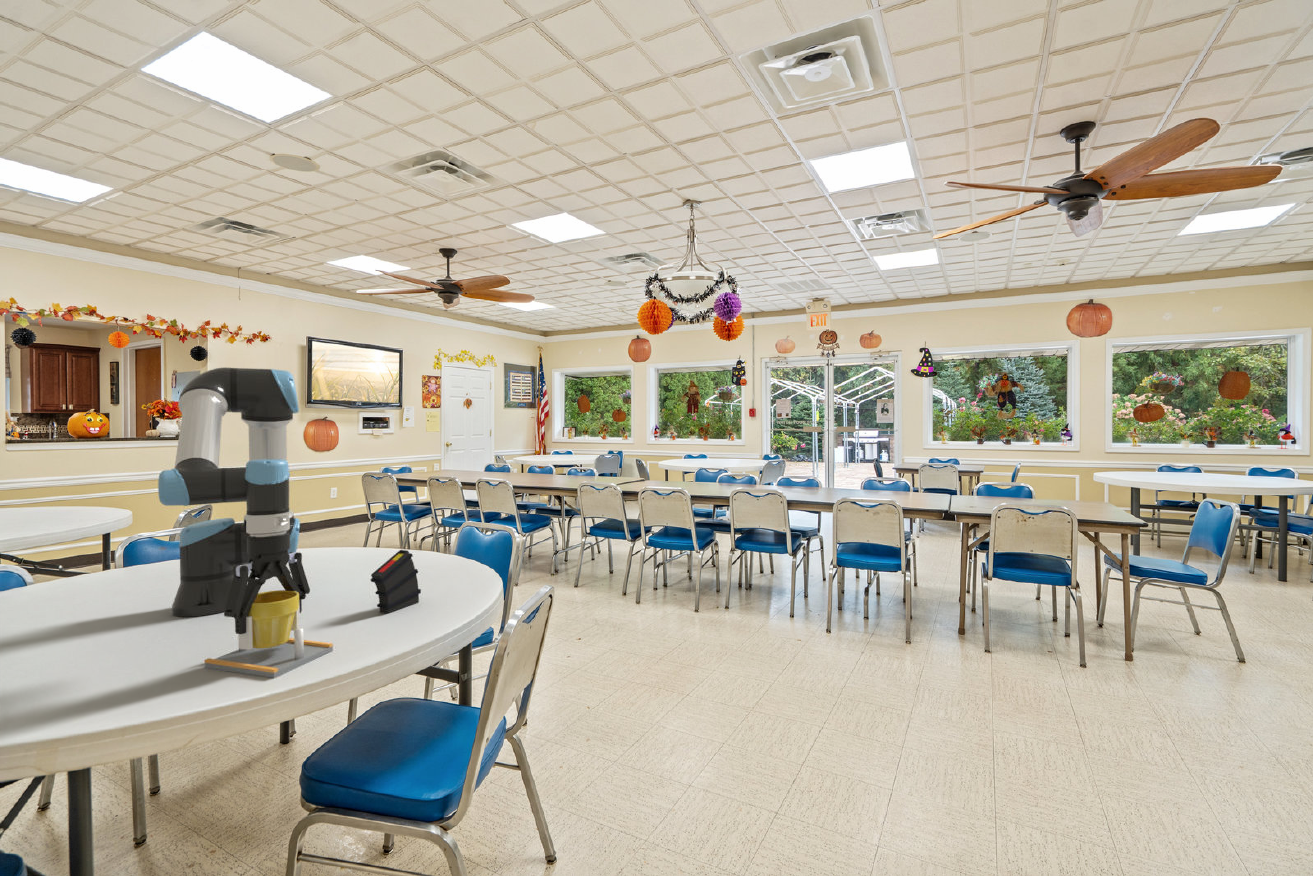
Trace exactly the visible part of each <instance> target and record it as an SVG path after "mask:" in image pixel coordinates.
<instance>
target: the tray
mask: <svg viewBox="0 0 1313 876" xmlns="http://www.w3.org/2000/svg"><path fill="white" fill-rule="evenodd" d="M293 635H294V636H293V637H294V638H292V637H289V640H288V641H287V642H286V643H284V644H282V645H279V646H275V647H270V648H252V649H250V650H247V649H239V648H238V649H236V650H234V651H231V652H229V653H225V654H224V655H220V656H218V657H216V658H205V659H204V661H203V662H204V669H210V670H211V669H212V670H219V671H224V672H231V673H238V674H245V675H250V676H251V675H252V676H260V677H264V678H271V679H275V678H277V677H280V676H281V675H284V674H286V673H288V672H290V671H292V670H294V669H297V668H299V667H301V666H303V665H305V664H307V663H310V662H312V661H314V660H317V659H318V658H321V657H323V656H325V655H327V654H329V653H331V652H332V651H334V645H333V644H334V643H332V642H323V641H316V640H307V639H304V638H305V637H304V628H303V627H300V628H297V629H294V631H293Z"/></svg>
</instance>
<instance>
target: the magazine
mask: <svg viewBox="0 0 1313 876" xmlns="http://www.w3.org/2000/svg"><path fill="white" fill-rule="evenodd" d="M413 557H414V556H413V553H412V552H411V553H410V552H409V550H407V549H406V550H405V549H399V551H397V552H396V553H395V554H394V555H393V556H392V555H391V557H390V558H389V559H387V561H385V562H384V563H383V564H382V565H381V566H379V567H378V568H377V569H376V570H375V571H374V572H372V573H371V574H370V575H371V578H370V582H371V583H374V584H375V587H376V591H375V595H378V601H379V602H378V603H377V604H376V607H377V608H379V613H383V614H390V613H393V612H396V611H398V610H402V609H404V608H406V607H409V606H412V605H415V604H419V602H420V598H419V597H420V596H419V595H420V594H421V593H422V589H421V588H419V582H418V577H417V574H418V573H419V571H418V568H416V567H415V564H414V561H413V559H412V558H413Z"/></svg>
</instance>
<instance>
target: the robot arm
mask: <svg viewBox="0 0 1313 876" xmlns="http://www.w3.org/2000/svg"><path fill="white" fill-rule="evenodd" d="M178 410H179V411H180V413H181V422H180V427H179V428H180V429H179V434H178V441H177V447H176V448H177V449H176V455H175V462H174V468H172V469H166V470H165V469H164V470H162V471H161V472H160V473H159V476H158V482H157V488H158V491H157V493H158V499H159V502H160V504H161V505H163V506H170V507H171V506H174V507H175V506H183V507H188V506H196V505H198V506H199V505H212V504H222V503H223V504H224V503H227V504H228V503H242V502H243V503H244V502H246V514H245V515H243V522H236V521H235V520H234V518H232V517H224V518H217V519H210V520H209V519H208V520H205V521H201V522H197V523H194V524H190V525H187V526H185V527H184V528H182V529H181V530H180V533H179V544H178V548H179V574H180V575H179V578H180V580H179V581H180V584H179V586H178V588H177V591H176V594H175V597H174V601H173V602H172V605H171V606H172V607H171V609H172V610H171V611H172V612H171V613H172V615H173V616H174V617H175V616H176V617H185V618H186V617H199V616H200V617H201V616H208V615H214V614H218V613H223V612H224V613H223V615H224V617H226V618H233V619H234V628H235V629H234V630H235V631H234V632H235V634H236V635H238V637H237V638H238V650H239V649H247V650H250V649H252V648H253V640H252V616H248V614H249V612H250V610H251V607H252V604H253V603H254V601H255V599H256V597H257V594H258V593H260V591H261V588H262V586H263V585H264V584H266V581H267V580H270V579H272V578H276V579H277V580H278V581H279V583H280V585H281V586H282V587H283V590H286V591H296V592H298V593H299V608H298V610H297V611H296V612H295V615H294V619H293V623H292V627H291V631H293V632H294V629H297V628H301V624H300V623H301V621H300V620H301V618H300V616H301V615H300V614H301V613H302V611H303V610H302V605H303V603H302V600H305V599H306V598H307V595H308V594H310V591H311V588H310V586H309V583H308V579H307V578H308V577H307V576H306V573H305V569H304V565H303V553H302V552H297V550H298V549H297V548H298V544H299V537H300V528H301V527H300V526H301V523H300V518H297V517H294V516H295V515H294V514H295V513H294V512H293V510H291V509H290V476H291V475H290V468H289V462H288V461H287V460H288V458H287V457H288V454H287V453H288V448H287V447H288V445H287V444H288V442H287V440H288V439H287V438H288V437H287V426H288V424H291V422H292V421H293V420H294V415H293V414H298V413H300V409H299V401H298V395H297V388H296V383H295V378H294V376H293V374H292V373H291V372H290V371H288V370H282V369H275V368H244V367H243V368H242V367H241V368H238V367H218V368H213V369H210V370H207V371H205V372H203V373H200V374H198V375H197V376H195V377H194V378H193V379H191V380H190V381H189V382H188V383H187V384H185V387H183V389H182V391H181V393H180V394H179V398H178ZM226 413H240V416H241V417H240V418H241V420H242V422H244V423H245V424H247V427H248V457H249V458H248V461H247V462H246V464H245V467H244V466H243V467H241V466H240V467H220V466H219V465H220V453H221V438H222V425H223V424H222V423H223V417H224V416H225V415H226ZM287 565H288V566H287Z"/></svg>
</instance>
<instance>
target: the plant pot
mask: <svg viewBox="0 0 1313 876" xmlns="http://www.w3.org/2000/svg"><path fill="white" fill-rule="evenodd" d="M298 608H299V593H298V592H296V591H286V590H285V589H281V590H280V589H279V590H268V591H263V592H258V594H257V597H256V599H255V601H254V603H253V604H252V607H251V610H250V612H249V614H248V616H252V640H253V648H270V647H275V646H279V645H282V644H284V643H286V642H287V641H288V640H289V638H290V636H291V632H292V630H291V627H292V623H293V619H294V615H295V612H296V611H297V610H298Z"/></svg>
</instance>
